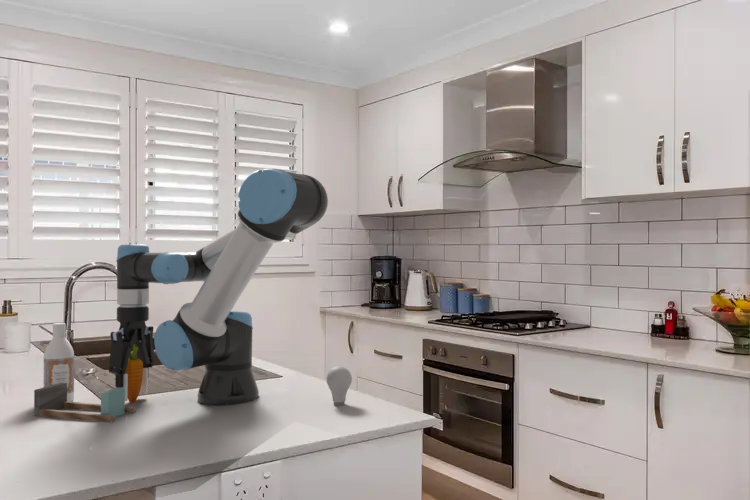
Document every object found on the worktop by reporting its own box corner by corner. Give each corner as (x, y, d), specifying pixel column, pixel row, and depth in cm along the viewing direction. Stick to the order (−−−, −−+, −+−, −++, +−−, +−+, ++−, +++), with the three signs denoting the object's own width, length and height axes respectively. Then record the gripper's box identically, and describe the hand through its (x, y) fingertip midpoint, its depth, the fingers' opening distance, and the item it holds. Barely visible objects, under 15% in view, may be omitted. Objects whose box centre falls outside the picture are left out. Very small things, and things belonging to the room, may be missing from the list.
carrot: (130, 407, 155) (130, 346, 155) (117, 404, 158) (117, 344, 158) (147, 403, 160) (147, 344, 160) (134, 400, 162) (134, 342, 162)
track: (135, 414, 149) (136, 388, 149) (111, 423, 141) (111, 396, 141) (61, 406, 156) (62, 382, 156) (34, 415, 147) (34, 389, 147)
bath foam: (45, 406, 156) (45, 325, 156) (41, 401, 161) (42, 322, 161) (75, 403, 159) (76, 324, 159) (71, 397, 165) (72, 321, 165)
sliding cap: (124, 413, 149) (124, 388, 149) (108, 419, 143) (108, 393, 143) (117, 412, 149) (117, 387, 149) (100, 418, 144) (101, 392, 144)
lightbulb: (340, 407, 157) (340, 363, 157) (356, 412, 152) (357, 366, 152) (321, 411, 152) (321, 366, 152) (337, 416, 148) (338, 369, 148)
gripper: (145, 302, 169) (145, 387, 170) (91, 308, 150) (91, 404, 150) (169, 302, 167) (169, 389, 167) (118, 309, 148) (117, 407, 148)
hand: (132, 396), depth 159 cm, fingers open, 7 cm apart
